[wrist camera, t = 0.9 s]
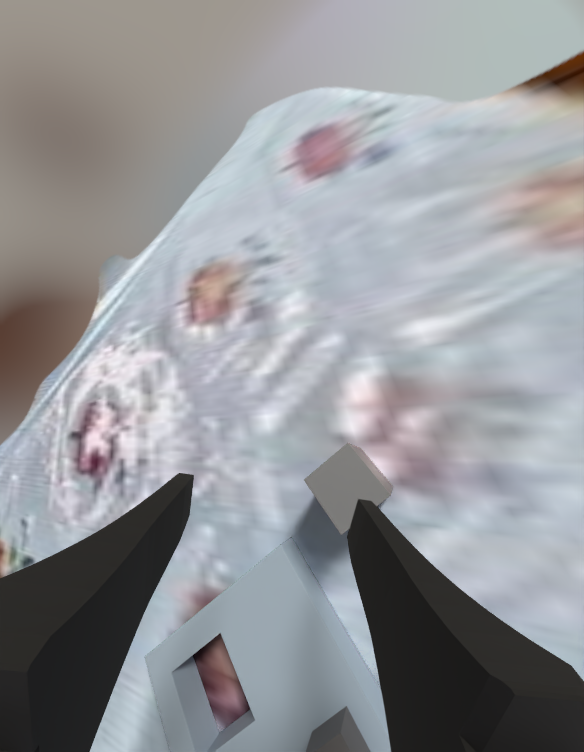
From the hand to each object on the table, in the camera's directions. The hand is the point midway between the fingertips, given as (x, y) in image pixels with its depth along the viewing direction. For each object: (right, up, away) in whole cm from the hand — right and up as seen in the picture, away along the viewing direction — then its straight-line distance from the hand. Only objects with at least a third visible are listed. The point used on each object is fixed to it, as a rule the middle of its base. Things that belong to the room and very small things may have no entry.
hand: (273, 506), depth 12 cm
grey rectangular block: (+7, -4, +12) cm, 14 cm away
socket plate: (-1, -19, +10) cm, 22 cm away
